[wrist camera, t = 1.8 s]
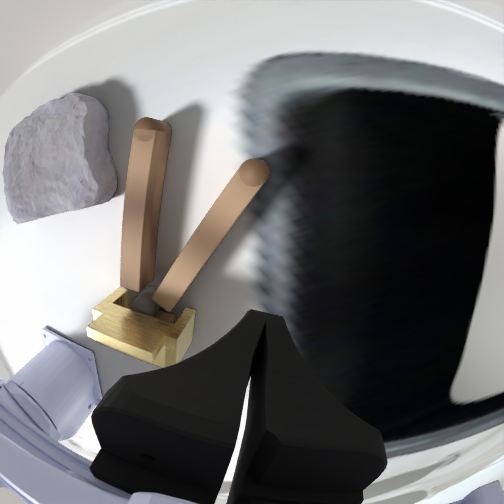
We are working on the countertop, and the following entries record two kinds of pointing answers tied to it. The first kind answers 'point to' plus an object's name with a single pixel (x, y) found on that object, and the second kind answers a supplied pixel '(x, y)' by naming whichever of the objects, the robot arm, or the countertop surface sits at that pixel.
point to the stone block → (59, 159)
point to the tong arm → (212, 231)
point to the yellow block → (141, 331)
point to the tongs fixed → (144, 213)
